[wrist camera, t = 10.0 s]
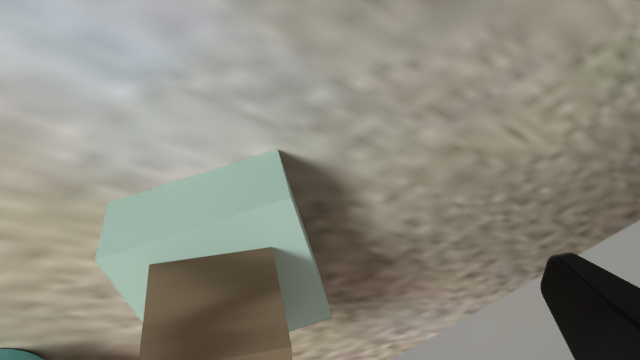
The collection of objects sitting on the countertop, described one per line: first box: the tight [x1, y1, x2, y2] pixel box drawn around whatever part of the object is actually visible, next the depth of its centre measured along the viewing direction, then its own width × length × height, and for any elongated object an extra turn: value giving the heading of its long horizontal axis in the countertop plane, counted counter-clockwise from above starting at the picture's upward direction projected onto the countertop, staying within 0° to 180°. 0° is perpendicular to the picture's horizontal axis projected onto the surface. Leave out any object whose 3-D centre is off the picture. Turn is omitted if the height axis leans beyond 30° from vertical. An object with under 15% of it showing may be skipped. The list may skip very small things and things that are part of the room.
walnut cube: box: [139, 247, 292, 360], centre depth 19 cm, size 5×5×5 cm
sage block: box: [95, 149, 332, 331], centre depth 23 cm, size 8×8×4 cm
